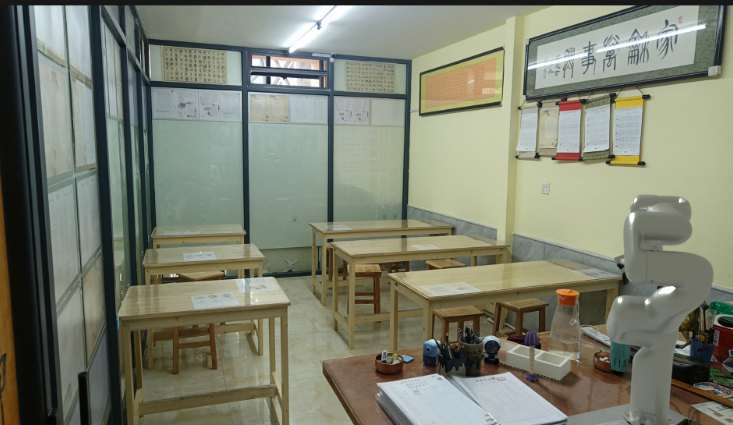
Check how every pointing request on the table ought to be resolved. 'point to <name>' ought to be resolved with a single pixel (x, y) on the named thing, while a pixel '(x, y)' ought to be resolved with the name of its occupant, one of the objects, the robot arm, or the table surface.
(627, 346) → the beverage bottle
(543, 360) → the rack
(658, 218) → the robot arm
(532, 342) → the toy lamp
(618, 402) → the table surface
